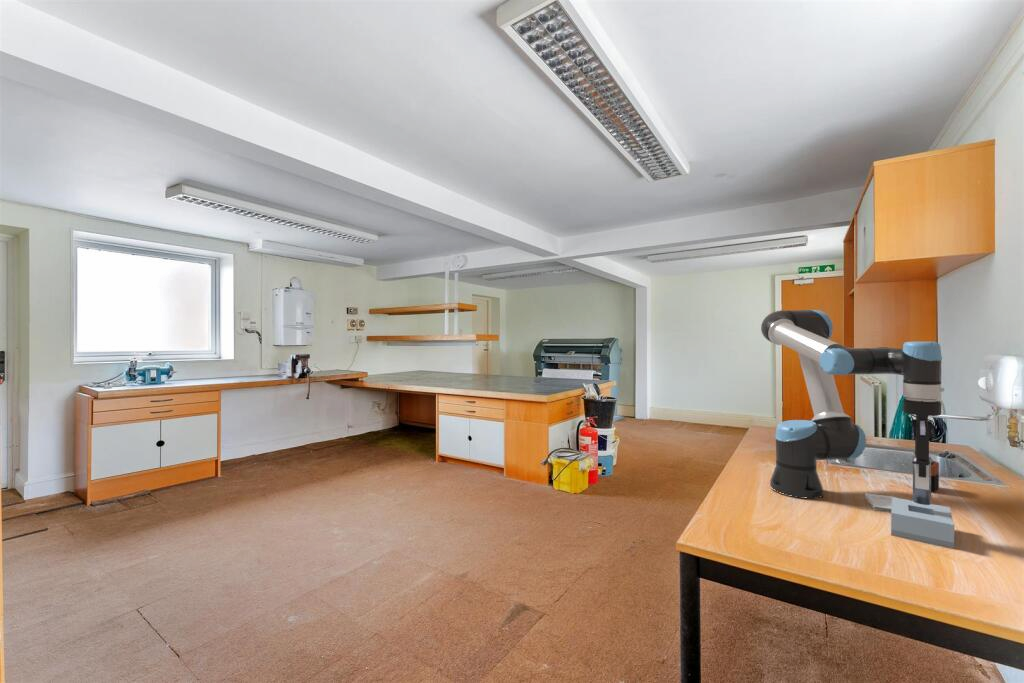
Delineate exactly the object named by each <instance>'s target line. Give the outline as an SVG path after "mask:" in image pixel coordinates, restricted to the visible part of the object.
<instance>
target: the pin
mask: <svg viewBox="0 0 1024 683" xmlns="http://www.w3.org/2000/svg"><path fill="white" fill-rule="evenodd" d="M930 458H931V457H930ZM930 458H929V462H930V463H929V490H925V489H919V488H915V464H912V501H913V502H915V503H918V504H923V505H931V504H932V492H931V459H932V458H931V459H930ZM912 461H916V456H915V455H914V456H913V455H912Z"/></svg>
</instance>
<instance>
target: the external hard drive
mask: <svg viewBox="0 0 1024 683" xmlns="http://www.w3.org/2000/svg"><path fill="white" fill-rule="evenodd" d="M864 497H865V499H866V498H867V499H866V501H867V502H868V501H869V502H868V503H869V504H871V505H870V506H871V507H873V508H872V509H873V510H874V509H876V510H875V511H879V510H882V511H881V512H886V511H890V512H889V513H891V508H892V497H894V498H897V496H891V495H884V494H883V495H882V494H877V493H876V494H874V493H867V492H865V493H864Z"/></svg>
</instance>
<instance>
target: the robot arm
mask: <svg viewBox="0 0 1024 683" xmlns="http://www.w3.org/2000/svg"><path fill="white" fill-rule="evenodd" d="M760 325H761V327H760V331H761V333H762V336H763V338H765V340H767V341H769V342H770V343H772V344H774V345H777V346H784V347H787V348H789V349H791V350H792V351H795V352H797V354H798V358H799V363H800V366H801V367H800V368H801V370H802V374H803V378H804V382H805V385H806V388H807V393H808V397H809V400H810V405H811V408H812V412H813V417H812V418H811V420H806V419H791V420H784V421H782V422H780V423H778V424H777V425H776V429H775V435H774V436H775V467H774V470H773V472H772V476H771V478H770V482H769V486H771V487H772V488H773V489H775V490H776V491H778V492H781V493H784V494H787V495H792V496H797V497H807V498H806V499H809V498H810V499H816V498H815V497H819V498H821V497H823V496H824V488H823V485H822V482H821V479H820V477H819V474H818V471H817V461H826V460H827V461H828V460H829V461H831V460H832V461H833V460H835V461H837V460H838V461H839V460H841V461H847V460H852V459H853V460H854V459H857V458H859V457H860V456H861V455H863V453H864V451H865V450H866V446H867V439H866V433H865V431H864V430H863V428H861V426H860V425H858V424H855V423H854V422H853V420H852V417H851V416H850V415H848V414H846V413H845V412H844V408H843V405H842V402H841V399H840V395H839V391H838V386H837V384H836V380H835V377H834V375H835V376H845V375H846V376H848V375H853V376H854V375H881V374H882V375H897V376H902V377H903V378H902V379H903V380H902V397H904V399H903V400H902V401H903V402H902V404H903V405H902V410H903V412H904V413H905V414H907V415H915V418H914V419H911V426H912V435H913V438H914V441H915V442H914V452H913V454H914V456H916V461H913V460H912V461H911V462H912V465H913V464H915V488H919V489H925V490H929V463H930V462H929V458H930V459H932V457H930V439H931V438H932V429H933V422H932V420H929V417H938V416H940V415H942V402H941V401H939V400H941V399H942V393H941V392H944V391H945V388H944V387H942V385H941V384H942V360H943V356H942V349H941V348H942V347H941V344H940V342H937V341H906V342H904V343H903V344H902V345H903V346H902V348H898V347H887V346H878V347H867V348H866V347H863V348H862V347H861V348H860V347H859V348H856V347H855V348H852V347H851V348H850V347H847V346H845V345H842V344H840V343H838V342H835V341H833V340H830V338H831V337H832V335H833V330H834V326H833V322H832V320H831V318H830V316H829V315H828V314H827V313H826V312H824V311H822V310H818V309H817V310H815V309H814V310H813V309H801V310H800V309H799V310H797V309H796V310H777V311H776V310H775V311H773V312H771V313H768V315H767V316H765V317H764V319H763V320H762V323H761V324H760ZM778 492H777V493H778ZM787 495H786V496H787ZM820 496H821V497H820ZM797 497H796V498H797Z"/></svg>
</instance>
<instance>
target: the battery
mask: <svg viewBox="0 0 1024 683" xmlns="http://www.w3.org/2000/svg"><path fill="white" fill-rule="evenodd" d="M939 471H940V463H939V462H938V461H935V460H933V458H931V493H932V492H933V493H936V491H937V490H939V488H940V484H939V483H940V482H939V481H940V472H939Z"/></svg>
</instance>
